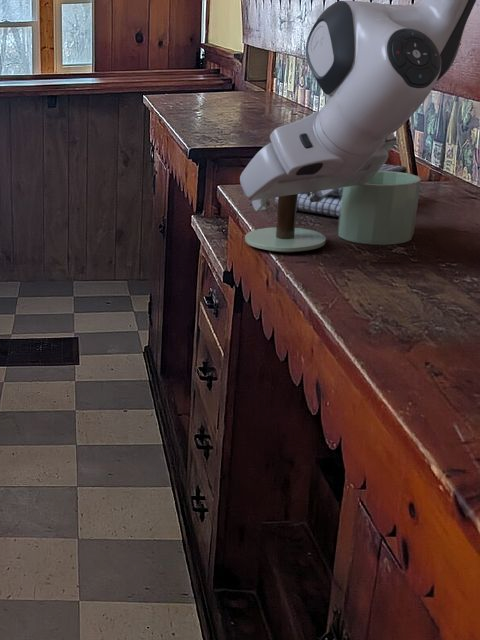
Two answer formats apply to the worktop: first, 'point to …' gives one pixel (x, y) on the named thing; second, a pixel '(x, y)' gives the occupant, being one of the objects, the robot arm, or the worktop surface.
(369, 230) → the canister
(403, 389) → the worktop surface
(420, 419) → the worktop surface
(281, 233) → the lid
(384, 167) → the towel
